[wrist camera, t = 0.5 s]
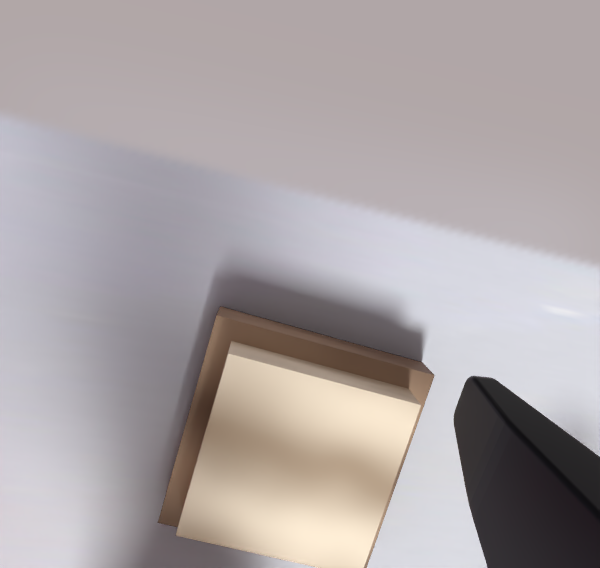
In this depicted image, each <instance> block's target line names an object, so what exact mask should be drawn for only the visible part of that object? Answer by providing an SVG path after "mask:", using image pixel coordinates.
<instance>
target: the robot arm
mask: <svg viewBox="0 0 600 568" xmlns="http://www.w3.org/2000/svg"><path fill="white" fill-rule="evenodd" d="M454 428H455V433H456V438H457V444H458V449H459V455H460V460H461V465H462V471H463V476H464V481H465V487H466V492H467V497H468V501H469V506H470V509H471V513H472V517H473V520H474V524H475V527H476V530H477V533H478V537H479V540H480V543H481V547H482V550H483V553H484V557H485V560H486V563H487V566H488V568H600V457H599V456H598V455H596V454H595V453H594V452H592V451H591V450H590V449H588V448H587V447H586V446H584V445H583V444H582V443H580V442H579V441H578V440H576V439H575V438H574V437H572V436H571V435H569V434H568V433H567V432H565V431H564V430H563V429H561V428H560V427H559V426H557V425H556V424H555V423H553V422H552V421H551V420H549V419H548V418H547V417H545V416H544V415H542V414H541V413H540V412H538V411H537V410H536V409H534V408H533V407H532V406H530V405H529V404H528V403H526V402H525V401H524V400H522V399H521V398H520V397H518V396H517V395H515V394H514V393H513V392H511V391H510V390H509V389H507V388H506V387H505V386H503V385H502V384H501V383H499V382H498V381H497V380H495V379H493V378H489V377H479V376H471V377H469V378H468V379H467V381H466V382H465V385H464V388H463V390H462V393H461V396H460V398H459V401H458V404H457V407H456V409H455V413H454Z"/></svg>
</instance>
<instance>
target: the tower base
mask: <svg viewBox="0 0 600 568" xmlns="http://www.w3.org/2000/svg"><path fill="white" fill-rule="evenodd" d="M433 378H434V374H433V373H432V372H431V371H430V370H429V369H428V368H427V367H426V366H425V365H424V364H423V363H422V362H419V361H415V360H412V359H408V358H405V357H401V356H397V355H394V354H390V353H387V352H383V351H379V350H376V349H372V348H369V347H365V346H361V345H358V344H354V343H351V342H347V341H343V340H340V339H336V338H333V337H329V336H325V335H322V334H318V333H315V332H311V331H307V330H304V329H300V328H297V327H293V326H289V325H286V324H282V323H279V322H275V321H271V320H268V319H264V318H261V317H257V316H253V315H250V314H246V313H243V312H239V311H235V310H232V309H228V308H225V307H221V306H220V308H219V310H218V313H217V315H216V319H215V322H214V326H213V329H212V333H211V336H210V340H209V343H208V347H207V351H206V354H205V358H204V361H203V365H202V368H201V372H200V375H199V379H198V382H197V386H196V389H195V393H194V396H193V400H192V404H191V407H190V411H189V414H188V418H187V421H186V425H185V428H184V432H183V435H182V439H181V442H180V446H179V449H178V453H177V456H176V460H175V464H174V467H173V471H172V474H171V478H170V481H169V485H168V488H167V492H166V495H165V499H164V502H163V506H162V509H161V513H160V517H159V520H158V523H161V524H166V525H170V526H175V527H178V529H177V532H176V536H180V537H184V538H189V539H193V540H197V541H202V542H206V543H211V544H215V545H220V546H224V547H229V548H233V549H238V550H242V551H246V552H251V553H255V554H260V555H264V556H269V557H273V558H278V559H282V560H287V561H291V562H296V563H300V564H304V565H309V566H313V567H318V568H367V565H368V562H369V559H370V556H371V553H372V551H373V548H374V545H375V542H376V539H377V537H378V534H379V531H380V528H381V525H382V522H383V520H384V517H385V514H386V511H387V508H388V505H389V503H390V500H391V497H392V494H393V491H394V488H395V486H396V483H397V480H398V477H399V474H400V472H401V469H402V466H403V463H404V460H405V457H406V455H407V452H408V449H409V446H410V443H411V440H412V438H413V435H414V432H415V429H416V426H417V423H418V421H419V418H420V415H421V412H422V409H423V407H424V404H425V401H426V398H427V395H428V392H429V390H430V387H431V384H432V381H433Z"/></svg>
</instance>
